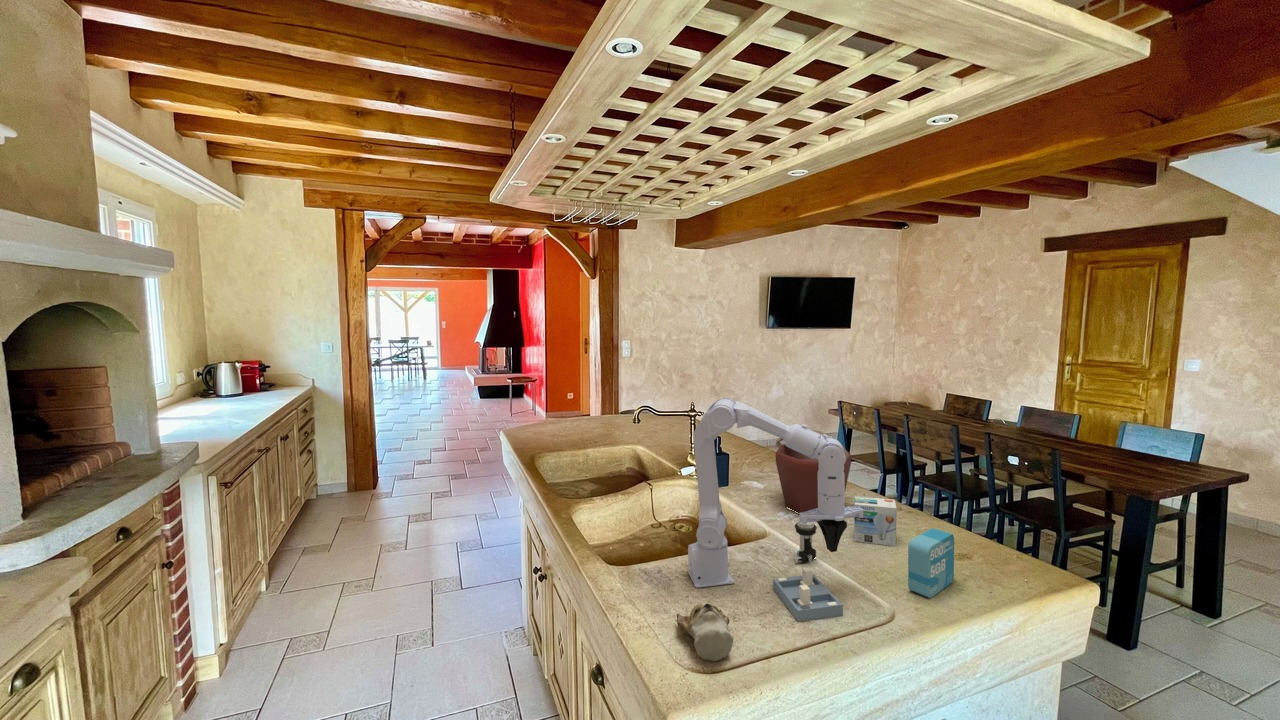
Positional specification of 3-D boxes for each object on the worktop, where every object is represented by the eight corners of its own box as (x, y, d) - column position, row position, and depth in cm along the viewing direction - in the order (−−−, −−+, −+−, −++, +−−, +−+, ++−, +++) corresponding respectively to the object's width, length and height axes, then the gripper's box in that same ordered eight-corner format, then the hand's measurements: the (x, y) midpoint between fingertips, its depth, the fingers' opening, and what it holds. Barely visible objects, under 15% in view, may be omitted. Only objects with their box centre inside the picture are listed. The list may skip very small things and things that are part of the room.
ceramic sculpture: (688, 626, 93) (672, 587, 108) (690, 673, 94) (674, 628, 109) (745, 619, 95) (722, 582, 110) (747, 666, 95) (723, 622, 110)
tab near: (801, 610, 110) (800, 590, 109) (797, 605, 112) (796, 585, 111) (812, 608, 110) (812, 589, 110) (808, 603, 112) (808, 584, 112)
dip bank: (797, 621, 108) (797, 610, 107) (773, 588, 120) (773, 578, 120) (842, 615, 109) (842, 604, 109) (813, 583, 122) (813, 573, 122)
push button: (803, 568, 129) (803, 530, 128) (787, 560, 134) (786, 523, 133) (821, 560, 132) (821, 523, 131) (805, 553, 137) (804, 516, 136)
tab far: (804, 590, 117) (803, 572, 117) (800, 586, 119) (799, 567, 119) (814, 589, 118) (814, 570, 117) (810, 584, 119) (810, 566, 119)
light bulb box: (854, 541, 142) (853, 504, 141) (853, 531, 148) (853, 495, 147) (897, 547, 138) (897, 507, 137) (895, 536, 144) (895, 499, 143)
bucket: (762, 501, 175) (760, 428, 172) (812, 489, 184) (811, 419, 181) (814, 527, 153) (813, 444, 150) (868, 512, 162) (868, 433, 159)
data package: (928, 600, 113) (928, 547, 112) (907, 591, 117) (907, 540, 116) (954, 582, 120) (954, 532, 119) (934, 574, 124) (934, 526, 122)
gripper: (809, 501, 112) (809, 561, 113) (871, 495, 114) (871, 554, 115) (794, 490, 119) (795, 547, 120) (853, 484, 121) (853, 540, 122)
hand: (831, 549), depth 118 cm, fingers closed
